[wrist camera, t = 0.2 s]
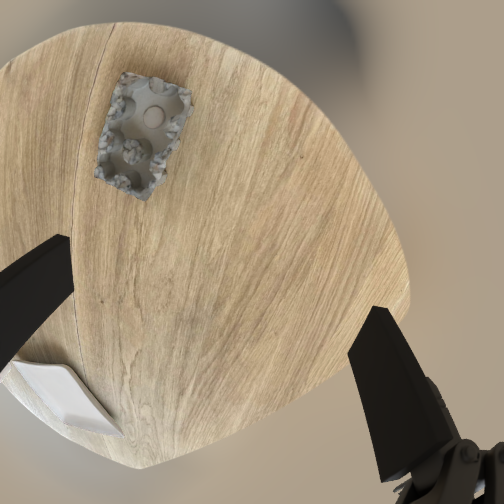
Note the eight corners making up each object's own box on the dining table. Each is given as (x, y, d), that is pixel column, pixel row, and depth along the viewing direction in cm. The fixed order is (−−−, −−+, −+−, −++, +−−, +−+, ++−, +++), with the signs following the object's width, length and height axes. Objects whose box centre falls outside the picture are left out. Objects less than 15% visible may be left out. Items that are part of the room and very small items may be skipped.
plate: (17, 351, 39) (9, 361, 36) (72, 354, 36) (63, 367, 33) (68, 415, 47) (63, 424, 44) (131, 426, 44) (126, 439, 41)
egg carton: (142, 73, 21) (122, 65, 17) (208, 98, 22) (197, 91, 18) (101, 169, 25) (79, 175, 21) (160, 199, 26) (143, 209, 22)
